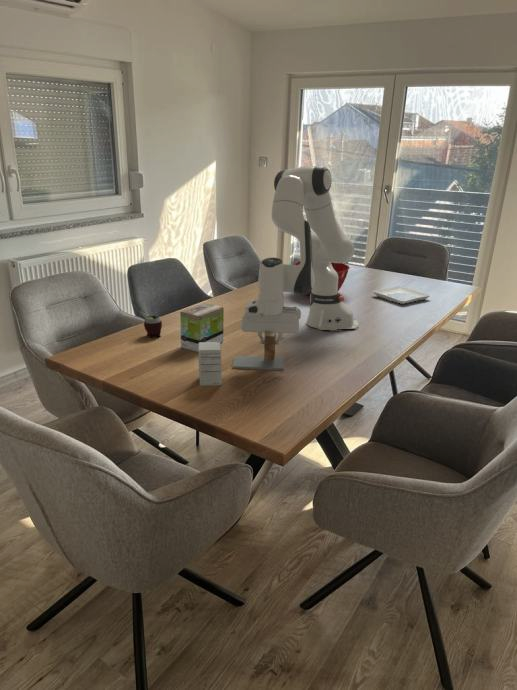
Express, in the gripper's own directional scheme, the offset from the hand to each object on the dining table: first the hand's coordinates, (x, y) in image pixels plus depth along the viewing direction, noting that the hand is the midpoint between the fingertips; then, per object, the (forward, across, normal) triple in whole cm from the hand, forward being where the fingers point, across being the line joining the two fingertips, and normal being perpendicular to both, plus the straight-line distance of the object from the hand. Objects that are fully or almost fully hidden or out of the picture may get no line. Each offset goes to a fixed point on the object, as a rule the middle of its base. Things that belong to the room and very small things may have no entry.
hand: (269, 343), depth 187 cm
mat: (+8, +4, 0) cm, 9 cm away
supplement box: (+8, +19, +16) cm, 26 cm away
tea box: (+8, +27, -17) cm, 33 cm away
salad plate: (+8, -63, -92) cm, 112 cm away
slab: (+5, 0, 0) cm, 5 cm away
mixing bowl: (+8, -22, -95) cm, 98 cm away
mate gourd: (+8, +48, -25) cm, 55 cm away
